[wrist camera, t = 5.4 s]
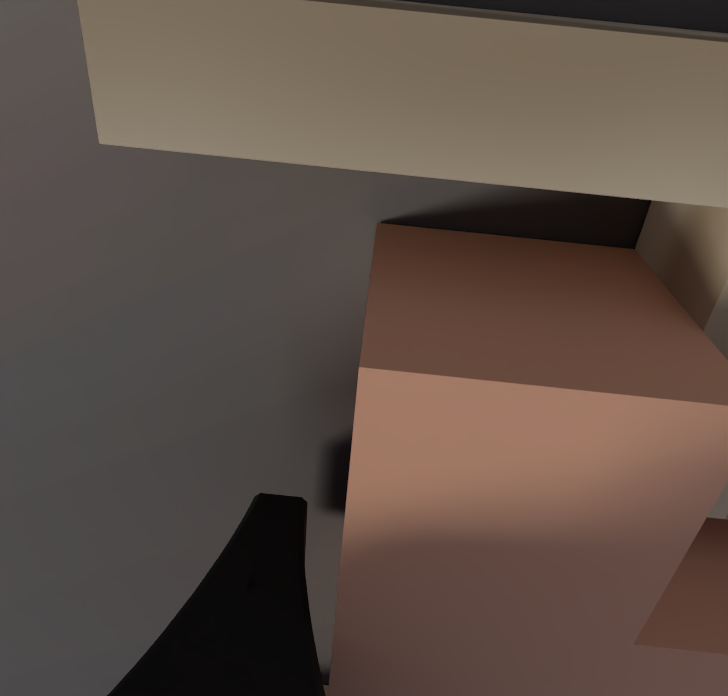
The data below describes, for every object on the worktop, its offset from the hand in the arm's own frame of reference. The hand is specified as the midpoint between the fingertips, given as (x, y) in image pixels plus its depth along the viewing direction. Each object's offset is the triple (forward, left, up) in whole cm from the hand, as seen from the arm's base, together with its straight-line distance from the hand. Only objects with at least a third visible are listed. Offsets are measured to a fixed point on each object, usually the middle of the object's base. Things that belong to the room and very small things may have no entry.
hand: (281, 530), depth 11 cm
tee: (0, -7, -1) cm, 7 cm away
